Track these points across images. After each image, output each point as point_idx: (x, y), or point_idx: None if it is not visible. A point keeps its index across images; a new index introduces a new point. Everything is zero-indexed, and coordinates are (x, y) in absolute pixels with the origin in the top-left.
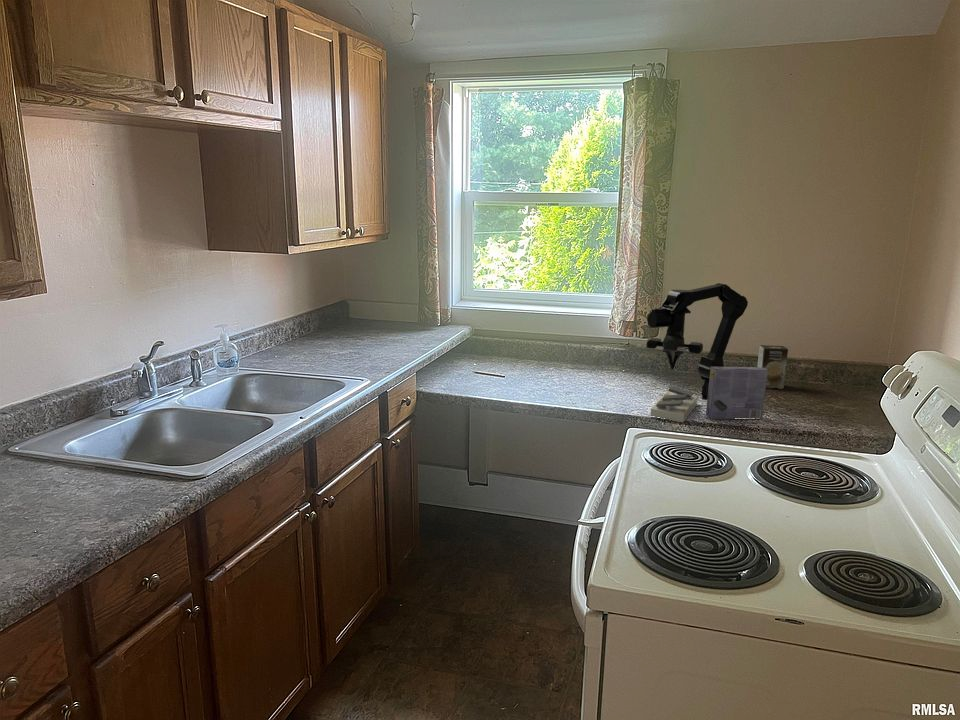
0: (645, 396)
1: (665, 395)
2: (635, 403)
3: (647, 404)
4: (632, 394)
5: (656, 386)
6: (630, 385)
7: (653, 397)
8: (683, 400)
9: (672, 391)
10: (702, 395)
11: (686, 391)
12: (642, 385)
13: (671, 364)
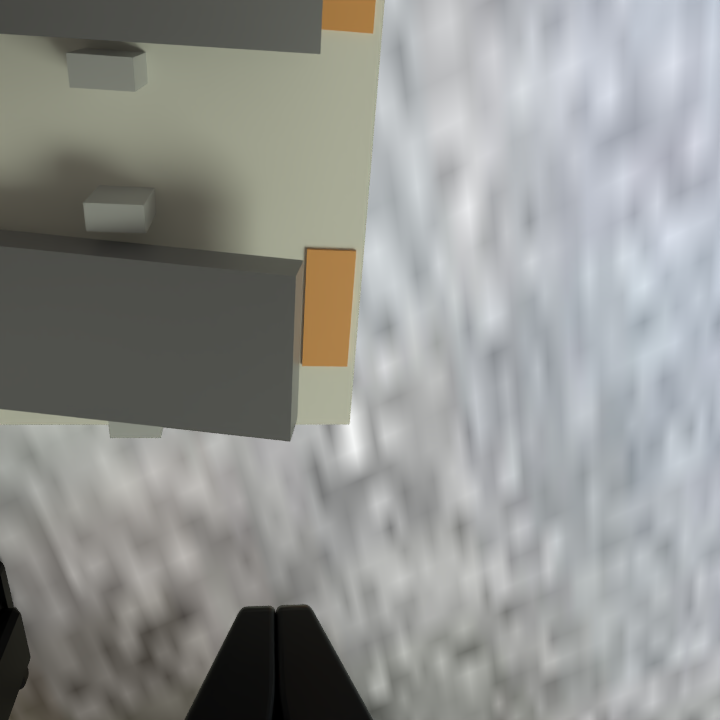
0: (568, 387)
1: (306, 44)
2: (684, 56)
3: (532, 81)
4: (701, 393)
5: (486, 686)
6: (704, 621)
7: (483, 391)
8: (15, 113)
9: (230, 260)
10: (6, 609)
11: (39, 383)
12: (603, 661)
13: (316, 714)
